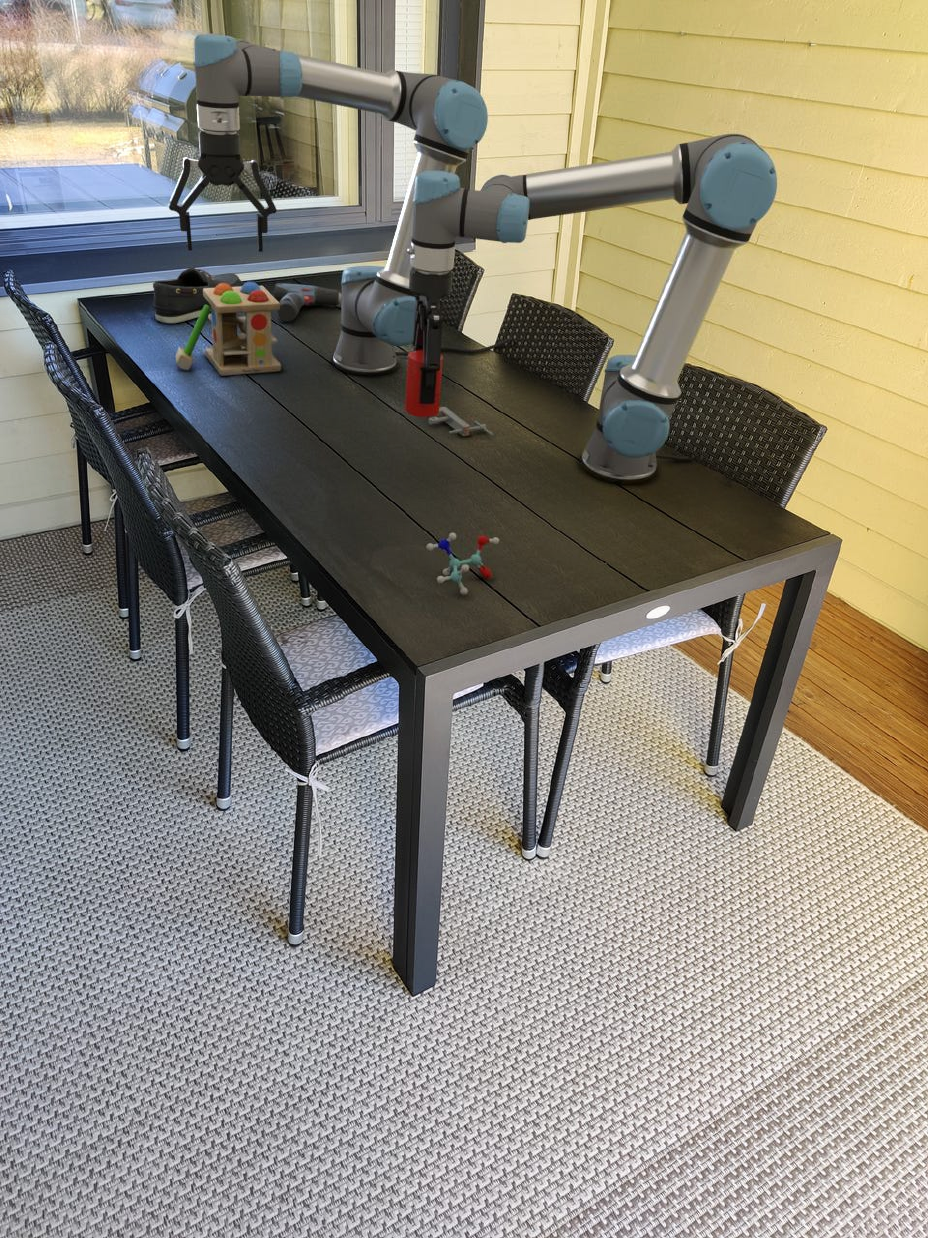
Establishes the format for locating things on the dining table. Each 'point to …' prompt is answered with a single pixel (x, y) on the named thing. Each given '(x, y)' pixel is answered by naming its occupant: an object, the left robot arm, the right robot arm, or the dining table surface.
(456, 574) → the molecular model
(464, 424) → the clamp
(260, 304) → the pounding bench toy
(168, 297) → the boat shoe
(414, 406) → the red cylinder
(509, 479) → the dining table surface
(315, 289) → the power drill
